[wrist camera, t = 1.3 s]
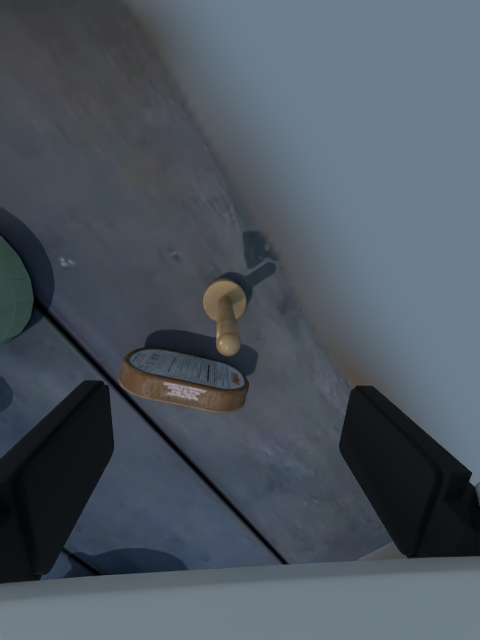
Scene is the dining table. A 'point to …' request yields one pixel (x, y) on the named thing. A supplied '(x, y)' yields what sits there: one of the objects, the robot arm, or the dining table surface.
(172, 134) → the dining table surface
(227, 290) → the wooden pestle
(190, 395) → the tin
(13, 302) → the bowl
